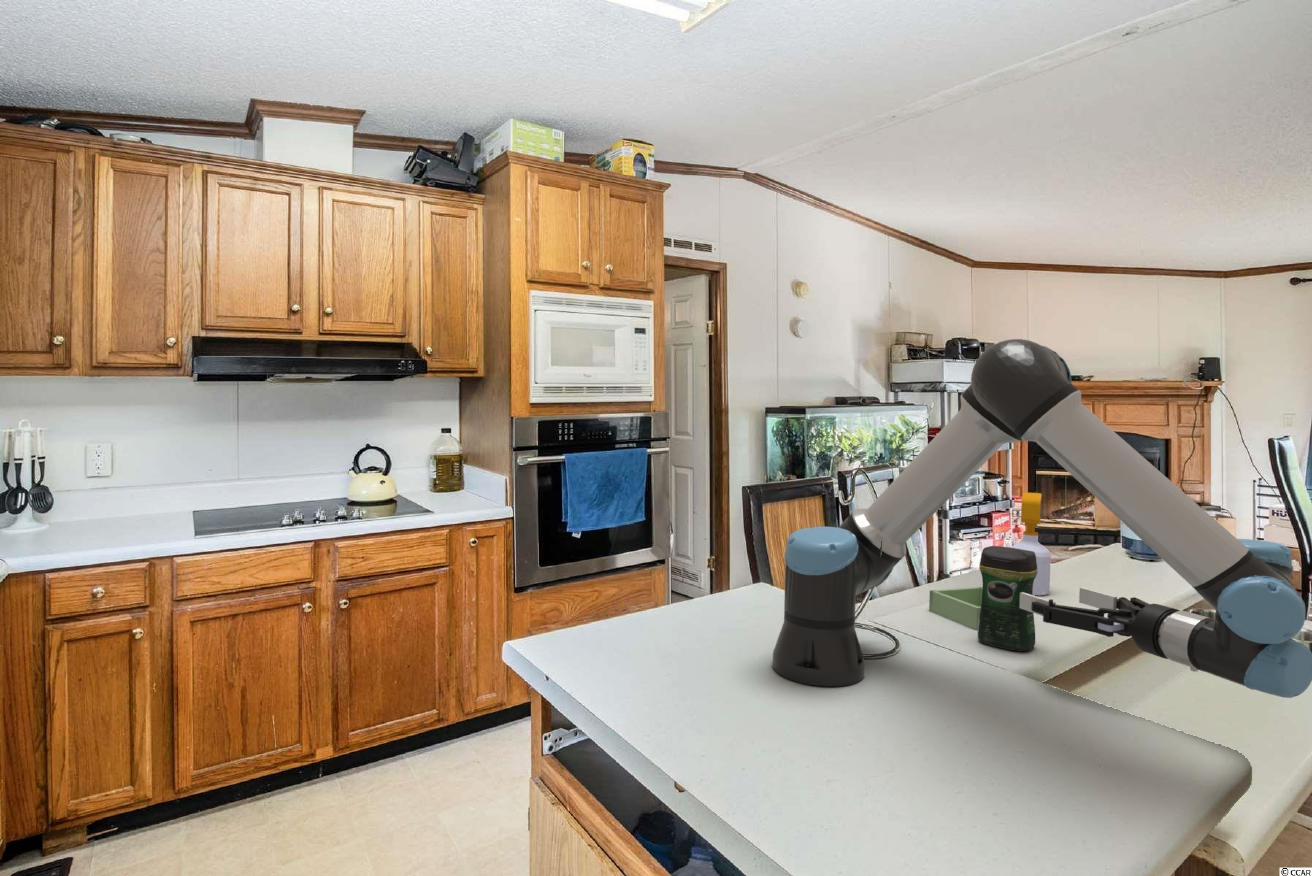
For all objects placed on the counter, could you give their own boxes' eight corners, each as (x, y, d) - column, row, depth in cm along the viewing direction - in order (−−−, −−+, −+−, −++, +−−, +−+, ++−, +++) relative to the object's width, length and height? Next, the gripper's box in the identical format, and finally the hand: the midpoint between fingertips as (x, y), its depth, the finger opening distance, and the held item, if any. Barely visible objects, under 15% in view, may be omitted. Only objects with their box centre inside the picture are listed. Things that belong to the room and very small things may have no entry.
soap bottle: (1049, 590, 173) (1053, 493, 172) (1048, 598, 165) (1052, 496, 164) (1009, 585, 177) (1013, 490, 176) (1006, 592, 170) (1010, 493, 169)
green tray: (976, 629, 140) (977, 608, 139) (929, 610, 153) (929, 590, 153) (1030, 624, 144) (1031, 603, 144) (979, 606, 157) (980, 586, 157)
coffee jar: (1040, 646, 130) (1044, 548, 130) (1026, 655, 125) (1030, 554, 124) (986, 633, 137) (990, 541, 137) (971, 642, 132) (974, 546, 131)
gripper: (1110, 668, 98) (994, 624, 118) (1232, 652, 105) (1103, 613, 125) (1112, 616, 97) (996, 580, 117) (1234, 603, 105) (1105, 572, 125)
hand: (1051, 597), depth 121 cm, fingers open, 13 cm apart
